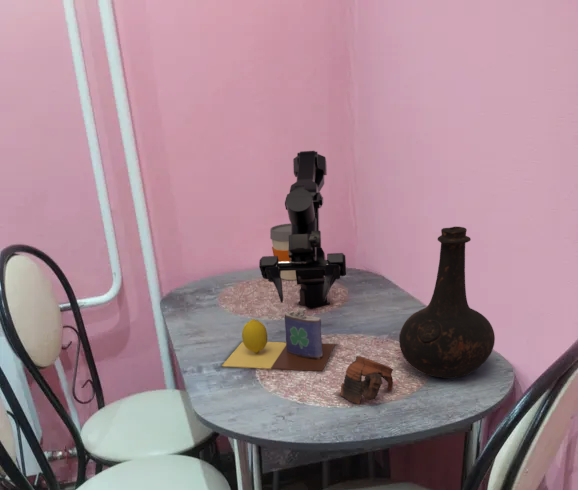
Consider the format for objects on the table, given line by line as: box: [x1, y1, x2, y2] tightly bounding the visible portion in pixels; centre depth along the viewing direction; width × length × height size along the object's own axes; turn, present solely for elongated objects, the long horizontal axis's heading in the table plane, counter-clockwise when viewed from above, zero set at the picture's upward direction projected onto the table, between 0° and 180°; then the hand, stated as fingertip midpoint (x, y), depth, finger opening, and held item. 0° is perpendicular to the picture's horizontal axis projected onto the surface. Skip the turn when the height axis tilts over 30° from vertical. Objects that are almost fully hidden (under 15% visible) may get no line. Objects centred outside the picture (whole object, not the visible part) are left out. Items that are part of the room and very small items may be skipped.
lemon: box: [241, 318, 268, 353], centre depth 133 cm, size 6×6×8 cm
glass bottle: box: [398, 226, 496, 379], centre depth 115 cm, size 18×18×28 cm
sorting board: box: [221, 340, 336, 372], centre depth 133 cm, size 14×22×1 cm, turn 75°
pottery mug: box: [339, 355, 394, 405], centre depth 112 cm, size 12×10×8 cm
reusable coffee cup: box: [269, 222, 296, 281], centre depth 186 cm, size 13×13×15 cm
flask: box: [284, 307, 323, 360], centre depth 129 cm, size 9×3×11 cm, turn 52°
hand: (302, 301), depth 130 cm, fingers open, 9 cm apart
